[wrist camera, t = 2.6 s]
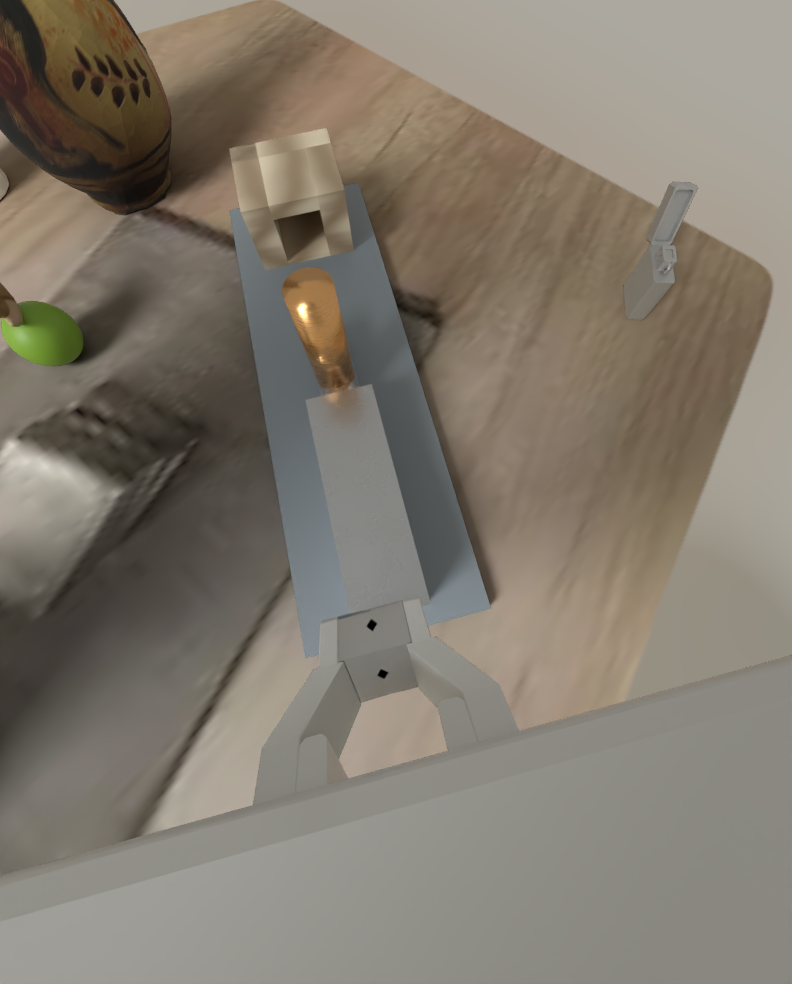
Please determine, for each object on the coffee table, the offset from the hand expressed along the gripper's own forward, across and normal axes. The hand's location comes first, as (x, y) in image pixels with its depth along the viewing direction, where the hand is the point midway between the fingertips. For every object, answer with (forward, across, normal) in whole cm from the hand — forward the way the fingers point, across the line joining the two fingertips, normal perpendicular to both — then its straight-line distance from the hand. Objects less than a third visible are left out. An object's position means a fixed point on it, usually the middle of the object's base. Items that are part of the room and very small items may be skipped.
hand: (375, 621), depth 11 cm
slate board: (+28, 0, -2) cm, 28 cm away
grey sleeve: (+18, 0, +7) cm, 19 cm away
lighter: (+30, -30, -3) cm, 42 cm away
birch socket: (+39, 0, -15) cm, 42 cm away
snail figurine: (+35, +25, -9) cm, 44 cm away
